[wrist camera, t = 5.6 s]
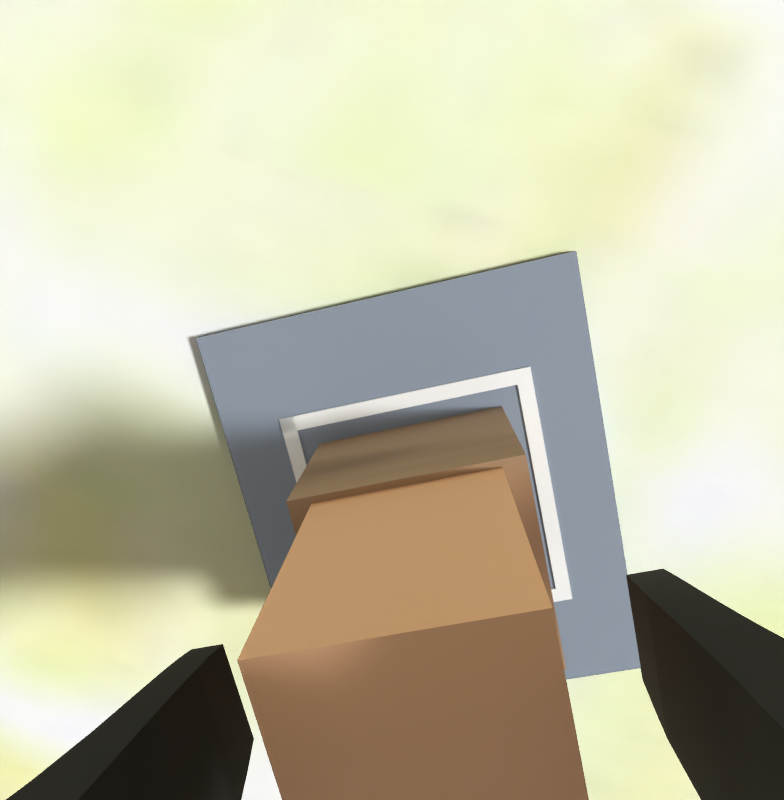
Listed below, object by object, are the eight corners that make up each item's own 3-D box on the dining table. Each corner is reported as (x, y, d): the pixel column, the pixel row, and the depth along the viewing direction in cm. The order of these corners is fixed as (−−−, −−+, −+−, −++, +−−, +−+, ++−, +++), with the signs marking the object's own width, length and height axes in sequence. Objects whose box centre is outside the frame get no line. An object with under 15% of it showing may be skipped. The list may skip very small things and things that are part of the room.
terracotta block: (536, 639, 13) (602, 869, 8) (356, 668, 13) (315, 904, 9) (502, 466, 12) (552, 608, 7) (311, 503, 13) (237, 660, 8)
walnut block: (534, 574, 17) (566, 669, 13) (362, 604, 17) (344, 704, 14) (502, 406, 16) (525, 454, 12) (319, 443, 16) (286, 501, 13)
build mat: (638, 660, 18) (642, 669, 17) (312, 711, 19) (309, 720, 18) (573, 251, 15) (576, 251, 15) (200, 336, 16) (194, 338, 16)
